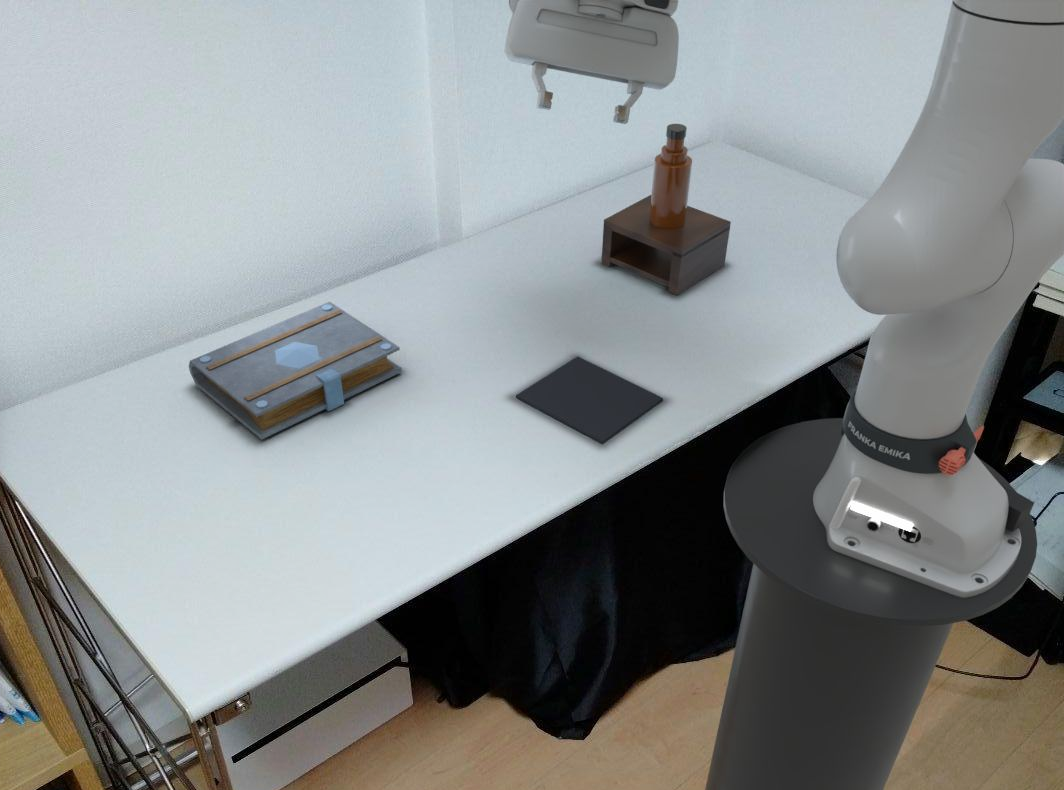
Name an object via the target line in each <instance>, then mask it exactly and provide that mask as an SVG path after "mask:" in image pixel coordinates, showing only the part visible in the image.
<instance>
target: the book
mask: <svg viewBox="0 0 1064 790" xmlns="http://www.w3.org/2000/svg"><path fill="white" fill-rule="evenodd" d="M400 348H401V347H400V346H398V345H397V344H395V343H394V342H392V341H391V340H389V339H387V338H386V337H385V336H383V335H382V334H380V333H379V332H377V331H375V330H374V329H372V328H371V327H370V326H368V325H366V324H365V323H364V322H362V321H360V320H359V319H358V318H356V317H354V316H353V315H351V314H350V313H348V312H347V311H346V310H343V309H342V308H340V307H339V306H337V305H336V304H334V303H333V302H331V301H327V302H325V303H323V304H321V305H318V306H316V307H313V308H311V309H309V310H306V311H304V312H302V313H299V314H297V315H294V316H292V317H289V318H287V319H285V320H283V321H280V322H277V323H276V324H273V325H270V326H269V327H268V326H267V327H266V328H263V329H261V330H258V331H257V332H254V333H252V334H250V335H246V336H245V337H242V338H239V339H238V340H235V341H233V342H230V343H228V344H226V345H223V346H221V347H219V348H216V349H214V350H211V351H209V352H207V353H205V354H201V355H200V356H197V357H195V358H193V359H190V360H189V363H188V371H189V374H190V375H191V378H192V379H193V382H194V383H195V386H196V387H197V388H199V389H200V390H201V391H202V392H203V393H204V394H206V395H207V396H208V397H209V398H211V399H212V400H213V401H214V402H216V403H217V404H218V405H219V406H220V407H222V408H223V409H224V410H225V411H226V412H228V413H229V414H230V415H231V416H233V418H235V419H236V420H237V421H238V422H240V423H241V424H242V425H243V426H244V427H246V428H247V429H248V430H249V431H251V432H252V433H253V434H254V435H255V436H257V438H259V439H260V440H264V439H266V438H268V437H271V436H272V435H274V434H276V433H278V432H280V431H283V430H284V429H287V428H289V427H291V426H293V425H295V424H297V423H299V422H301V421H303V420H305V419H308V418H310V417H311V416H314V415H316V414H319V412H322V411H324V410H325V411H326V412H331V411H333V410H335V409H337V408H339V407H341V406H343V405H345V400H346V399H348V398H352V397H353V396H355V395H357V394H359V393H361V392H363V391H365V390H368V389H369V388H371V387H373V386H375V385H378V384H379V383H382V382H384V381H386V380H388V379H390V378H392V377H394V376H397V375H398V374H400V373H402V372H403V370H402V367H401V366H399V365H397V364H396V363H395V362H393V361H392V360H390V359H389V358H388V356H390V355H392V354H394V353H397V352H399V351H400V350H401V349H400Z"/></svg>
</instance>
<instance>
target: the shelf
mask: <svg viewBox="0 0 1064 790" xmlns="http://www.w3.org/2000/svg"><path fill="white" fill-rule="evenodd" d="M651 196H652V193H651V194H649V195H648V196H645V197H643V198H642V199H640V200H638V201H636V202H634V203H632V204H631V205H629V206H627V207H625V208H623V209H621V210H619V211H617V212H615V213H613V214H611V215H610V216H608V217H606V218H604V219H603V227H602V245H601V261H600V264H602V265H603V266H606V267H609V268H610V267H612V266H614V265H616V266H619V267H621V268H623V269H625V270H628V271H631V272H633V273H635V274H637V275H640V276H642V277H644V278H647V279H649V280H651V281H654V282H656V283H658V284H661V285H663V286H665V287H667V288H668V289H667V292H668V293H670V294H672V295H674V296H679V295H681V294H682V293H683V292H686V291H687V290H688V289H690V288H692V287H693V286H695V285H696V284H698V283H700V282H701V281H703V280H704V279H705V278H707V277H709V276H710V275H712V274H713V273H715V272H716V271H718V270H720V269H722V268H724V267H725V265H726V259H727V251H728V246H729V245H728V244H729V238H730V231H731V223H732V221H730V220H727V219H725V218H722V217H720V216H717V215H715V214H712V213H709V212H706V211H704V210H700V209H698V208H695V207H693V206H689V205H687V211H686V220H685V224H684V225H683V226H681V227H678V228H673V229H665V228H660V227H656V226H654V225H653V224H651V222H650V220H649V218H650V207H651Z"/></svg>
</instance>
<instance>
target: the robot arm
mask: <svg viewBox="0 0 1064 790" xmlns="http://www.w3.org/2000/svg"><path fill="white" fill-rule="evenodd" d="M678 5H679V0H508V6H509V9H510V12H511V13H512V14H511V18H510V22H509V25H508V29H507V32H506V38H505V43H504V53H505V56H506V58H507V59H508V61H509V62H511V63H516V64H522V65H528V66H532V68H531V79H532V81H533V84H534V86H535V89H536V92H537V99H536V109H539V110H546V111H550V110H551V109H552V104H553V102H552V100H553V97H554V92H551V91H548V90H547V87H546V85H545V82H544V81H545V80H544V78H543V77H544V76H545V75H547V70H554V71H559V72H565V73H568V74H575V75H580V76H584V77H590V78H595V79H600V80H601V79H602V80H605V81H606V80H607V81H610V82H611V81H612V82H616V83H621V84H626V85H627V87H626V88H627V89H626V94H627V95H629V97H628V98H627V99H626V101H625V102H624V104H623V105H622V104H618V105H616V106H615V107H614V112H613V113H614V116H613V119H612V121H613V123H615V124H621V125H627V124H628V122H629V119H630V113H631V108H632V107H633V106H634V105H635V103H636V102H637V101H638V99H639V98H640V97H641V95H642V94H643V91H644V88H648V89H652V90H658V91H659V90H664V89H666V88H667V87H668V86H670V85H671V84H672V83H673V82H674V79H675V78H676V73H677V68H678V67H677V66H678V59H679V43H680V42H679V38H680V37H679V35H680V34H679V28H678V25H677V22H676V21H675V19H674V18H673V17H672V16H673V15H674V14H675V13H676V12H677V9H678ZM934 70H935V71H934V73H933V77H932V81H931V86H930V88H929V91H928V93H927V94H928V95H927V96H926V99H925V101H924V102H925V103H924V105H923V108H922V109H921V112H920V114H919V116H918V118H917V121H916V123H915V125H914V127H913V129H912V131H911V133H910V135H909V137H908V139H907V141H906V142H905V144H904V146H903V147H902V150H901V151H900V153H899V155H898V157H897V158H896V160H895V162H894V164H893V165H892V167H891V169H890V170H889V172H888V173H887V175H886V176H885V178H884V179H883V180H882V183H881V184H880V185H879V187H878V188H877V189H876V190H875V192H874V193H873V194H872V196H870V197H869V199H868V200H867V201H865V203H864V204H863V205H862V206H861V207H860V208H859V209H858V210H857V211H855V213H854V214H853V215H851V216H850V218H849V219H848V220H847V221H846V223H845V224H844V226H843V227H842V229H841V232H840V233H839V234H840V235H839V237H838V241H837V245H836V253H835V259H836V260H835V262H836V263H835V264H836V268H837V269H836V270H837V275H838V279H839V281H840V284H841V285H842V288H843V289H844V291H845V293H846V294H847V296H848V297H849V298H850V299H851V301H853V303H855V305H856V306H858V307H859V308H860V309H862V310H863V311H865V312H866V313H869V314H872V315H879V316H884V317H882V319H881V320H880V321H879V323H878V324H877V325H876V326H875V329H874V330H873V331H872V333H871V336H870V338H869V342H868V345H867V349H866V354H865V357H864V360H863V364H862V369H861V371H860V375H859V379H858V383H857V386H856V389H855V390H853V391H852V393H851V395H850V398H849V401H848V402H847V405H846V408H845V411H844V415H843V417H842V418H843V426H842V430H841V436H842V439H841V442H840V444H839V447H838V449H837V452H836V454H835V456H834V458H833V460H832V462H831V464H830V466H829V468H828V470H827V472H826V474H825V475H824V477H823V478H822V480H821V481H820V482H819V484H818V485H817V487H816V488H815V491H814V494H813V505H814V509H815V511H816V514H817V515H818V517H819V519H820V520H821V522H822V523H823V525H824V526H825V528H826V533H827V542H828V545H829V546H830V548H831V549H833V550H834V551H836V552H839V553H842V554H844V555H847V556H850V557H852V558H855V559H858V560H860V561H863V562H866V563H868V564H871V565H874V566H877V567H879V568H882V569H885V570H887V571H890V572H893V573H895V574H898V575H901V576H903V577H906V578H909V579H911V580H914V581H917V582H920V583H922V584H925V585H928V586H930V587H933V588H936V589H938V590H941V591H944V592H946V593H949V594H952V595H955V596H958V597H962V598H966V597H971V596H975V595H978V594H981V593H984V592H986V591H987V590H989V589H991V588H992V587H994V586H995V585H996V584H998V583H999V582H1000V581H1001V580H1002V579H1003V578H1004V577H1005V576H1006V575H1007V573H1008V572H1009V571H1010V569H1011V568H1012V567H1013V565H1014V563H1015V562H1016V560H1017V557H1018V554H1019V551H1020V548H1021V533H1020V530H1019V527H1020V526H1022V525H1023V524H1024V523H1026V521H1027V518H1028V516H1029V514H1030V515H1031V512H1032V509H1033V507H1034V506H1035V502H1034V501H1033V500H1031V499H1029V498H1027V497H1026V496H1024V495H1022V494H1021V493H1019V492H1017V491H1016V490H1015V491H1016V492H1015V491H1013V490H1012V489H1010V488H1008V487H1006V486H1005V485H1003V484H1001V483H998V482H997V480H996V479H995V478H994V477H993V476H992V475H991V473H990V472H989V471H988V470H987V468H986V467H985V466H984V465H983V464H982V462H981V461H980V460H979V459H980V458H979V457H978V456H977V455H976V453H975V452H974V451H975V449H976V445H977V442H978V441H979V440H980V439H981V437H982V434H983V431H984V429H985V426H984V425H981V426H979V428H978V429H977V430H976V431H975V432H973V430H972V428H971V426H970V424H969V421H968V417H967V412H968V408H969V406H970V403H971V400H972V398H973V395H974V392H975V390H976V387H977V385H978V382H979V379H980V378H981V374H982V372H983V369H984V368H985V365H986V363H987V360H988V359H989V356H990V355H991V353H992V352H993V350H994V348H995V346H996V345H997V343H998V341H999V340H1000V338H1001V336H1002V335H1003V334H1004V332H1005V331H1006V329H1007V328H1008V326H1009V325H1010V323H1011V322H1012V320H1013V319H1014V317H1015V316H1016V314H1017V313H1018V312H1019V310H1020V309H1021V307H1022V306H1023V304H1024V303H1025V301H1026V300H1027V299H1028V297H1029V295H1030V294H1031V293H1032V291H1033V290H1034V289H1035V287H1036V286H1037V285H1038V284H1039V282H1040V281H1041V279H1042V278H1043V277H1044V275H1046V273H1048V271H1049V270H1050V269H1051V268H1052V267H1053V266H1054V265H1055V264H1056V263H1057V261H1059V260H1060V259H1061V258H1062V257H1063V256H1064V163H1062V162H1060V161H1058V160H1054V159H1050V158H1031V157H1032V155H1033V154H1034V153H1035V152H1036V150H1037V149H1038V148H1039V147H1040V146H1041V145H1042V144H1043V142H1045V141H1046V139H1048V138H1049V137H1050V135H1052V134H1053V133H1054V132H1055V131H1056V129H1057V128H1058V127H1059V126H1060V125H1061V124H1062V122H1063V121H1064V0H952V2H951V6H950V11H949V14H948V19H947V22H946V27H945V30H944V35H943V39H942V43H941V47H940V51H939V55H938V59H937V62H936V67H935V69H934ZM978 458H979V459H978Z"/></svg>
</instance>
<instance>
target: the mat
mask: <svg viewBox="0 0 1064 790" xmlns="http://www.w3.org/2000/svg"><path fill="white" fill-rule="evenodd" d="M515 398H516V399H518V400H519V401H521V402H523V403H524V404H527V405H529V406H530V407H533V408H534V409H536V410H537V411H540V412H542V413H543V414H545V415H548V416H549V417H551V418H553V419H555V420H556V421H559V422H561V423H562V424H564V425H566V426H568V427H569V428H572V429H574V430H576V431H577V432H579V433H581V434H583V435H585V436H587V437H588V438H590V439H592V440H594V441H596V442H598V443H599V444H601V445H602V444H604V443H606V442H607V441H608V440H610V439H611V438H613V437H614V436H615V435H617V434H619V433H620V432H621V431H623V430H624V429H626V428H627V427H628V426H630V425H631V424H632V423H634V422H636V420H638V419H639V418H641V417H642V416H644V415H645V414H646V413H648V412H649V411H650V410H652V409H653V408H655V407H656V406H658V405H659V404H660V403H662V402H663V401H664V398H663V397H662V396H660V395H658V394H656V393H653V392H652V391H649V390H647V389H646V388H643V387H641V386H639V385H637V384H635V383H633V382H632V381H630V380H627V379H625V378H624V377H621V376H619V375H617V374H616V373H613V372H611V371H609V370H607V369H605V368H603V367H600V366H598V365H597V364H594V363H592V362H590V361H589V360H586V359H584V358H582V357H580V356H575V357H574V358H573V359H571V360H570V361H568V362H566V363H564V364H563V365H561V366H560V367H558V368H557V369H555V370H554V371H552V372H551V373H549V374H547V375H546V376H544V377H543V378H541V379H539V380H538V381H536V382H534V383H533V384H532V385H529V386H528V387H527V388H525V389H523V390H522V391H521V392H518V393H517V394H516V395H515Z"/></svg>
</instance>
